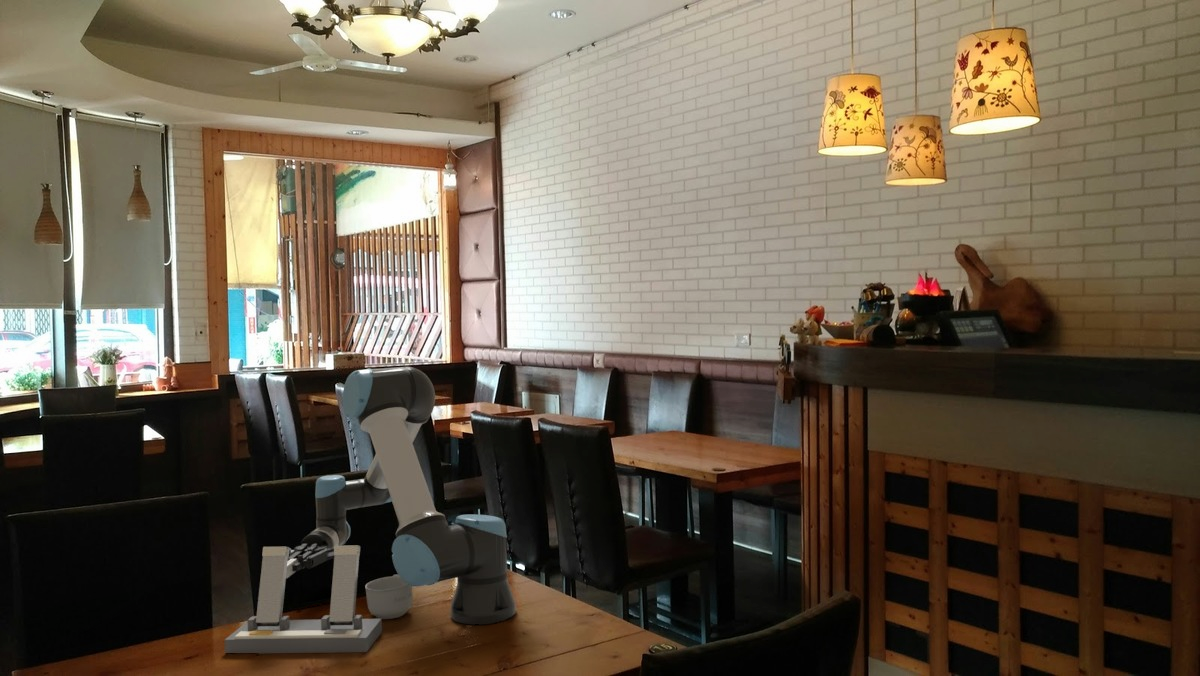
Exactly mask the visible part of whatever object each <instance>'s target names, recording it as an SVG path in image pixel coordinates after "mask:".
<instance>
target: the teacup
mask: <svg viewBox="0 0 1200 676" xmlns="http://www.w3.org/2000/svg"><path fill="white" fill-rule="evenodd" d="M364 586H365V587H364V588H365V594H366V595H365V596H366V604H367V608H368V611H369V612H370V614H371V615H373V616H375V617H376V619H382V620H390V619H396V618H400V617H402V616H404V615H405V614H406V613H407V612H408V611H409V610H410V608H412V606H413V599H414V597H413V586H411V585H409V584H408V583H406V582H404V581H403V580H402V578H401V577H400V576H399V574H398V573H397V574H393V575H392V576H391V575H390V576H384V577H380V578H377V579H374V580H371V581H369V582H367V583H366V584H365V585H364Z"/></svg>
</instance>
